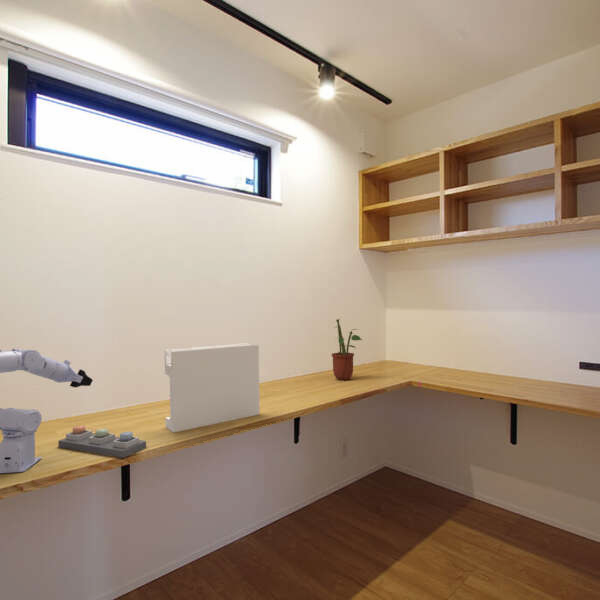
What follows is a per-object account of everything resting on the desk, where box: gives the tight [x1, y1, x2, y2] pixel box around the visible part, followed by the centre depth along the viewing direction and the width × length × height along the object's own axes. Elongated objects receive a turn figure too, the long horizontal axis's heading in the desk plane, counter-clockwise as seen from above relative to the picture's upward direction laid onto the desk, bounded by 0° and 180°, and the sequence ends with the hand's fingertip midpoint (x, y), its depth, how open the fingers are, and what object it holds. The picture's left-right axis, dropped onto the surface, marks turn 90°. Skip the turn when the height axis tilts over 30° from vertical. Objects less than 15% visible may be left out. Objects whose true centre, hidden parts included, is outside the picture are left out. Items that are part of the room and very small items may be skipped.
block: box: [164, 342, 261, 433], centre depth 151 cm, size 35×8×28 cm, turn 127°
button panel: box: [57, 429, 147, 459], centre depth 124 cm, size 27×9×4 cm, turn 68°
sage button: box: [94, 427, 109, 437], centre depth 124 cm, size 4×4×2 cm
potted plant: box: [331, 318, 363, 381], centre depth 232 cm, size 17×16×35 cm
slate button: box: [119, 431, 134, 441], centre depth 120 cm, size 4×4×2 cm
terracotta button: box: [72, 425, 86, 434], centre depth 127 cm, size 4×4×2 cm
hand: (82, 379), depth 132 cm, fingers open, 7 cm apart
